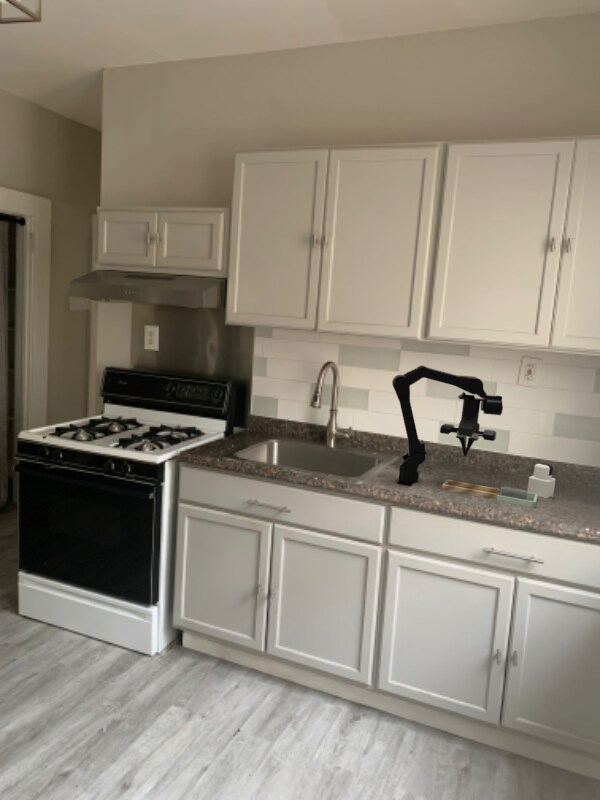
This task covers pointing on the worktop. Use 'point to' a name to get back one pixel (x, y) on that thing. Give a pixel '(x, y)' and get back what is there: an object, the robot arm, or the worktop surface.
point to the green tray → (519, 500)
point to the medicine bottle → (542, 481)
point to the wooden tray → (470, 489)
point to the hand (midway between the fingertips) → (465, 455)
